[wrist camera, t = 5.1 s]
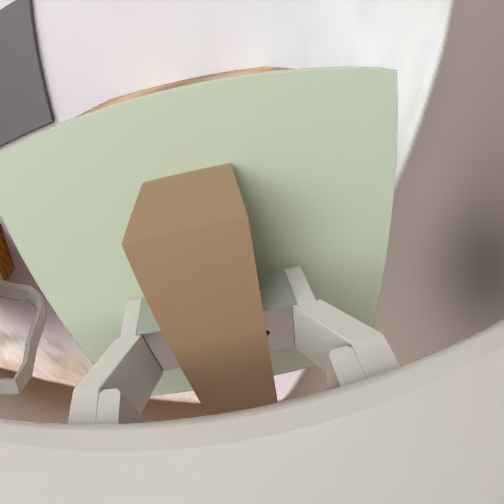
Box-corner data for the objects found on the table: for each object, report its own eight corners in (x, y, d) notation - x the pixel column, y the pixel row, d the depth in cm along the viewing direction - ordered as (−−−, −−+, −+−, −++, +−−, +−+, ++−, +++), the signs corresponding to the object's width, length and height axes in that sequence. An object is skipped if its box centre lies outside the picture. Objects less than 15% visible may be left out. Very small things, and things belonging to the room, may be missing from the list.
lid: (351, 62, 10) (470, 88, 5) (346, 308, 17) (391, 399, 12) (22, 136, 9) (-79, 212, 4) (127, 352, 16) (119, 451, 11)
